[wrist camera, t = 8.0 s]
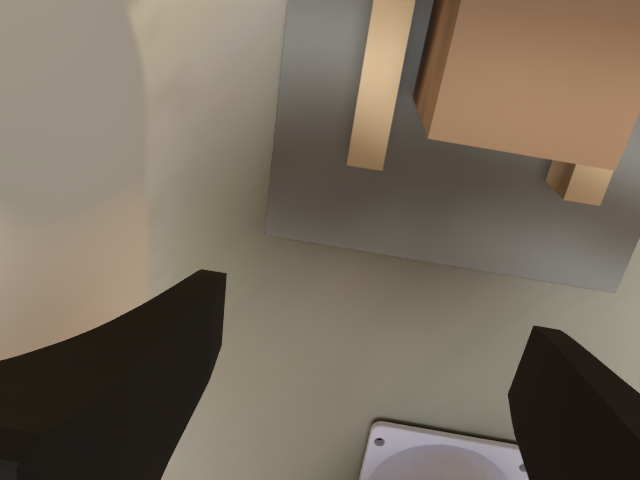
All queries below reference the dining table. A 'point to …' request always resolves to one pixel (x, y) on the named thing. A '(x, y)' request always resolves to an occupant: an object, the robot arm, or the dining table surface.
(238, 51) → the dining table surface
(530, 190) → the cradle
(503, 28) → the cabinet block
